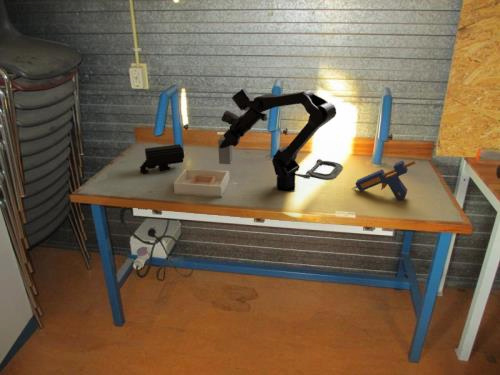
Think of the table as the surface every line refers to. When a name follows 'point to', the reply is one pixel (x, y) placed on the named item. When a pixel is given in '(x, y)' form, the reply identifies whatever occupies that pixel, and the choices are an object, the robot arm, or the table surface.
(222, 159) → the plug
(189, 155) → the table surface
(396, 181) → the glue gun
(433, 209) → the table surface
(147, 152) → the security camera
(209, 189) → the box
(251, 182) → the table surface
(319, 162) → the c clamp
